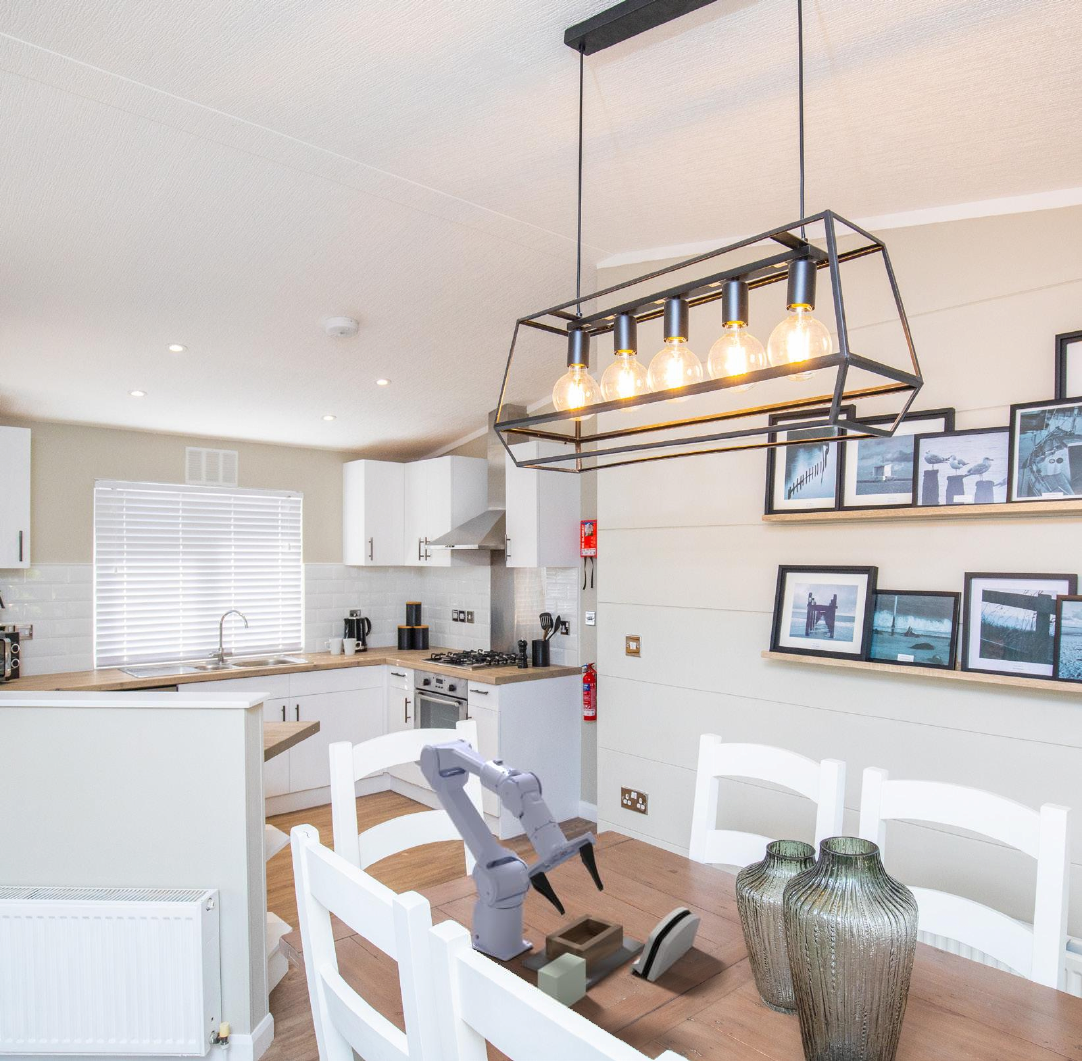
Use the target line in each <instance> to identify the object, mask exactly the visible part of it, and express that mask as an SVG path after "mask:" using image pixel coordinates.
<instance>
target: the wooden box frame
mask: <svg viewBox="0 0 1082 1061" xmlns="http://www.w3.org/2000/svg"><path fill="white" fill-rule="evenodd" d="M645 945H646V943H644V942H641V941H639V940H636V939H632V938H630V937H627V936H624V925H621V924H620V923H616V922H613V921H610V920H608V919H607V920H606V919H604V918H601V917H598V916H594V915H591V914H588V913H586V914H585V913H584V914H583V915H582V916H580V917H578V918H577V919H575V920H573V921H571V922H569V923H568V924H566V925H565V926H562V927H561V928H559V929H558V930H556V931H554V932H552V933H551V934H549V935H547V936H545V947H543V948H542V949H540V950H538V951H537V952H535V953H533V954H532V955H530V956H528V957H527V958H525V959H523V960H521V966H523V967H525V968H527V969H530V970H532V971H534V972H537V973H538V970H539V969H541V968H543V967H544V966H546V965H548V964H549V963H551V962H552V961H554V960H556V959H557V958H559V957H560V956H562V955H564V954H565V953H569V954H572V955H575V956H577V957H580V958H583V959H585V960H586V990H587V989H589V988H590V987H591V986H593V985H594V984H596V983H598V982H599V981H600V980H602V979H603V978H605V977H606V976H608V975H609V974H610V973H611V972H613V971H614V970H616V969H617V968H619V967H621V965H623V964H624V963H625V962H628V961H629V960H630V959H631V958H633V957H634V956H636V955H637V954H639V953H641V951H642V952H643V950H644V947H645Z"/></svg>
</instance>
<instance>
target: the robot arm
mask: <svg viewBox="0 0 1082 1061" xmlns="http://www.w3.org/2000/svg"><path fill="white" fill-rule="evenodd" d="M419 760H420V761H419V762H420V765H419V766H420V771H421V773H422V774H423V776H424V778H425V779H426V782H427V784H428V785H429V786H430V788H431V790H433V791H435V795H436V796H437V799H438V801H439V802H440V805H441V806H442V807H443V809H444V810H445V812H446V814H447V815H448V817H449V819H450V820H451V822H452V824H453V826H454V827H455V829H456V830H457V832H458V833H459V836H460V837H461V838H462V840H463V841H464V844H465V845H466V846H467V848H468V850H469V852H470V853H471V855H472V857H473V858H474V860H475V861H476V863H475V864H474V867H473V869H472V872H471V879H472V880H473V882H474V884H475V888H476V892H477V895H478V897H479V898H477V900H476V901H475V904H474V906H473V911H472V943H473V948H472V949H474V950H477V951H479V952H482V953H485V954H486V955H489V956H492V957H495V958H497V959H499V960H502V961H504V962H507V961H510V960H511V959H512V958H514V957H517V956H519V955H520V954H522V953H524V952H525V951H526V950H528V949H530V948H531V947H533V943H532V942H530V941H527V940H524V900H526V899H527V893H529V892H530V890H531V888H533V889H534V890H535V891H536V892H537V893H539V894H540V895H542V896H543V897H545V899H547V901H549V902H550V903H551V904H552V905H553V906H554V907H555V908H556V909H557V911H558V913H560V915H561V916H564V915H566V910H565V908H564V905H563V904H562V902H561V901H560V899H559V897H558V896H557V894H556V893H555V890H554V889H553V887H552V886H551V883H550V882H549V879H548V878H547V876H546V874H547V873H548V872H550V871H551V870H553V869H555V868H557V867H558V866H560V865H562V864H564V863H565V862H567V861H568V860H570V859H572V858H573V857H575V856H577V855H579V857H581V862H582V864H583V865H584V866H585V868H586V870H587V871H588V873H589V875H590V876H591V878H592V880H593V882H594V885H595V886H596V888H597V889H598V891H599V892H602V891H603V890H604V884H603V882H602V880H601V878H600V875H599V872H598V868H597V863H596V860H595V859H596V858H595V853H594V846H596V845H597V839H596V838H595V836H594V834H593V833H592V831H588V832H586V833H585V834H583V835H580V836H578V837H576V838H573V839H571V840H568V839H567V838H566V836H565V834H564V833H563V831H562V829H561V827H560V826H559V824H558V823H557V820H556V819H555V817H554V816H553V814H552V812H551V810H550V808H549V807H548V805H547V803H546V802H545V800H544V798H543V796H542V795H543V786H542V782H541V780H540V778H539V776H537V774H535V773H534V771H527V772H524V773H523V772H522V773H521V771H519V770H518V769H517V768H515V767H511V766H510V765H508V764H506V763H504V760H503V759H501V758H500V757H499V758H494V759H490V760H488V759H487V758H485V757H484V756H482V755H481V754H480V753H478V752H477V751H475V749H473V747H472V744H471V742H469V741H466V740H465V739H463V738H459V739H457V740H453V741H446V742H439V743H435V744H434V743H433V744H430V743H429V744H425V745H424V746H423V747H422V749H421V751H420V755H419ZM470 774H473V776H474V775H475V776H476V777H478V778H479V783H480V784H481V785H482V787H483V788H486V789H488V791H491V792H492V793H494V795H496V796H498V797H500V800H501V804H502V807H504V809H506V810H507V811H509V812H511V814H512V816H513V818H515V819H517V820H518V821H519V822H520V825H521V826H522V828H523V831H525V833H526V835H527V838H528V839H529V841H530V843H531V844H532V846H533V848H534V850H535V852H536V854H537V855H538V857H539V859H538V860H536V861H535V862H534V863H532V864H531V865H530V866H529V864H528V863H526V861H524V860H523V859H521V858H520V857H519V855H518V854H517V853H516V851H514V850H512V849H508V848H505V847H503V846H500V844H499V842H498V841H497V839H496V838H495V836H494V834H493V833H492V831H491V829H490V828H489V827H488V825H487V824H486V822H485V820H484V819H483V817H482V816H481V814H480V812H479V811H478V809H477V808H476V806H475V805H474V803H473V802H472V800H471V798H470V797H469V796H468V794H467V792H466V791H465V789H464V787H465V786H466V784H467V783H468V782H469V777H470V776H469V775H470ZM474 944H475V945H474Z"/></svg>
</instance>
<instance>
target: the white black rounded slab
mask: <svg viewBox="0 0 1082 1061" xmlns="http://www.w3.org/2000/svg"><path fill="white" fill-rule="evenodd" d="M690 910H691V909H689V908H687V907H684V906H680V907H677V908H675V909H673V910H672V911H671V912H669V913H668V914H667V915H666V916H665V917H664V918H663V919H661V921H660V922H658V924H657V925H655V927H654V929H653V930H652V931H651V932H650V933H649V936H648V937H647V940H646V943H645V947H644V949H643V950H642V953H641V956H640V957H639V958H637V959H636V960H635V961H634V962H633V963H632V964H631V966H630V968H629V972H628V974H630V975H632V974H634V973H635V971H636V972H638V973H639V974H640V975H642V974H645V973H646V976H647V978H646V979H647V980H649V981H650V982H655V981H656V980H657V979H658V978H659V977H660V976H661V975H663V974H664V973H665V972H666V971H667V970H668V969H669V968H670V967H671V966H673V964H675V963H676V962H677V961H678V960H679V959H681V957H682V956H683V955H685V954H686V952H688V951H689V950H690V949H692V947H693V945H694V942H695V938H696V936H697V933H698V932H697V931H698V929H699V925H700V922H701V917H700V916H698V914H696V913H692V912H691V911H690Z"/></svg>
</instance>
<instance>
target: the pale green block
mask: <svg viewBox="0 0 1082 1061" xmlns="http://www.w3.org/2000/svg"><path fill="white" fill-rule="evenodd" d="M538 988H539V989H541V990H542V991H543V992H545V993H546V994H548V995H550V996H552V998H554V999H556V1000H558V1001H559V1002H561V1003H562V1004H564V1005H566V1006H568V1008H570V1007H571V1006H573V1005H574V1004H575V1003H577V1002H578V1001H580V1000H581V999H583V998H584V997H585V996H586V994H587V993H586V992H587V989H586V960H585V959H583V958H580V957H577V956H575V955H572V954H569V953H565V954H564V955H562V956H560V957H559V958H557V959H556V960H554V961H552V962H551V963H549V964H548V965H546V966H544V967H543V968H541V969H539V970H538V972H537V989H538Z"/></svg>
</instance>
